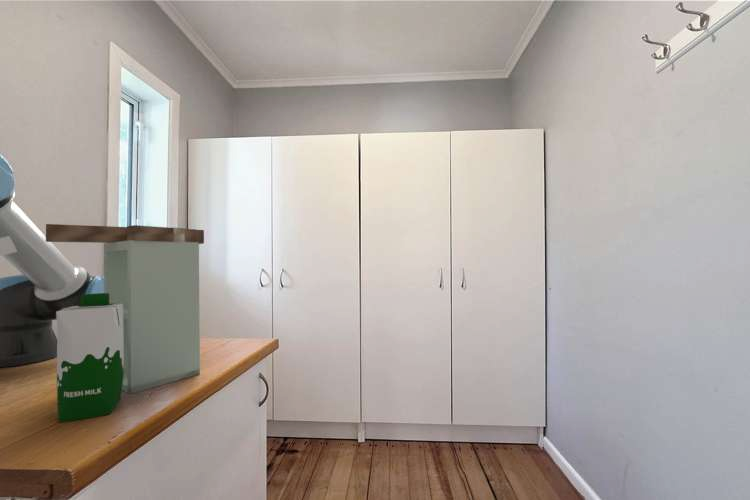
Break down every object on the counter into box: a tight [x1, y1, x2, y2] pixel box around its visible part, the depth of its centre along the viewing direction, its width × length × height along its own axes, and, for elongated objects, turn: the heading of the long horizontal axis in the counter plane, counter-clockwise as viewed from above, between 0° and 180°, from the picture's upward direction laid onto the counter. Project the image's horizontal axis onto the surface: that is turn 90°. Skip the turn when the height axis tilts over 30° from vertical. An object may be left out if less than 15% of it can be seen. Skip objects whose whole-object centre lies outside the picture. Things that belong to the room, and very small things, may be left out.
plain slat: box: [45, 223, 205, 245], centre depth 78 cm, size 28×3×3 cm, turn 132°
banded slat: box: [126, 224, 197, 242], centre depth 78 cm, size 13×3×3 cm, turn 150°
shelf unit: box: [103, 240, 201, 395], centre depth 80 cm, size 14×13×30 cm
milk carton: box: [56, 293, 124, 423], centre depth 63 cm, size 9×9×20 cm
